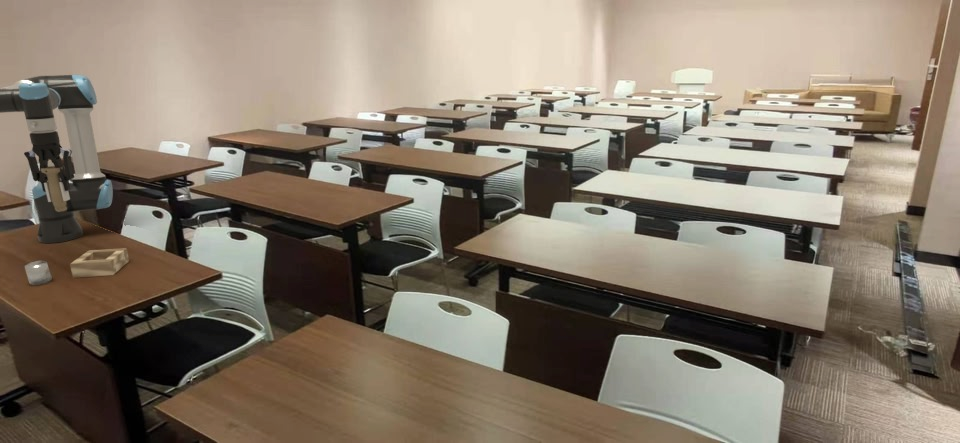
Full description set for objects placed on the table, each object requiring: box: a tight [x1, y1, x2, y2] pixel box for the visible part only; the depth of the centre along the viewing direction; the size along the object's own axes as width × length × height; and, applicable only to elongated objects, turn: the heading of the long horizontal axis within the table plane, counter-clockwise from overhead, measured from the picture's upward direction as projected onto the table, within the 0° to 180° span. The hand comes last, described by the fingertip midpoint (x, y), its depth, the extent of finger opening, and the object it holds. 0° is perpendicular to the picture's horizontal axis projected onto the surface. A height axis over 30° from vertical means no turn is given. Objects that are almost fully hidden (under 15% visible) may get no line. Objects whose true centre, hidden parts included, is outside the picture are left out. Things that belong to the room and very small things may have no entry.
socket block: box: [69, 247, 130, 279], centre depth 199 cm, size 14×12×5 cm
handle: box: [41, 165, 67, 212], centre depth 192 cm, size 5×6×15 cm
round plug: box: [24, 260, 52, 286], centre depth 189 cm, size 6×6×6 cm
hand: (59, 200), depth 193 cm, fingers closed on handle, 4 cm apart
